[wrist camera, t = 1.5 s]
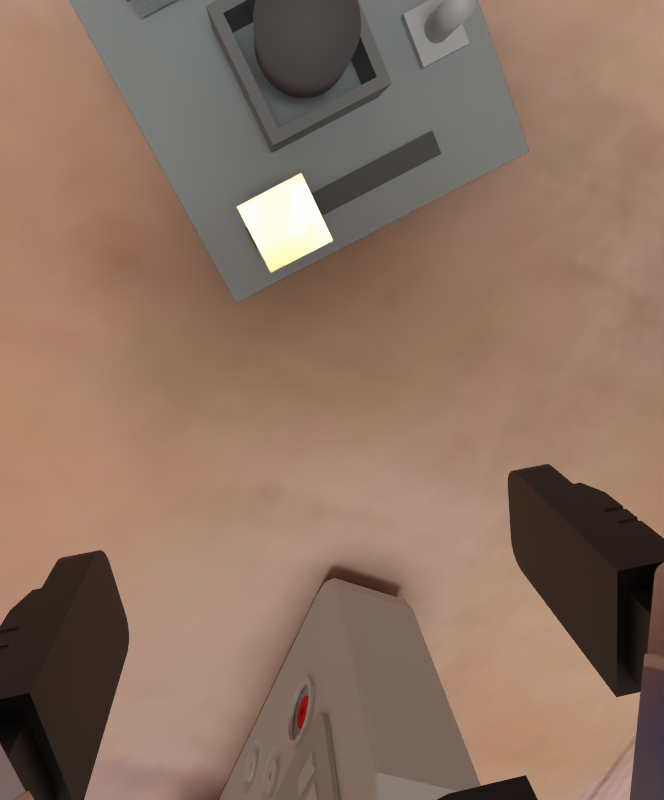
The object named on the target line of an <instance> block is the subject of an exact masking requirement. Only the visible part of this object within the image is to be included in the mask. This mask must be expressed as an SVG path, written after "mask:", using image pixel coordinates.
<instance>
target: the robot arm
mask: <svg viewBox="0 0 664 800" xmlns="http://www.w3.org/2000/svg"><path fill="white" fill-rule="evenodd" d="M508 495H509V512H510V529H511V542H512V548H513V552H514V555H515V558H516V561H517V563H518V565H519V567H520V569H521V571H522V572H523V573H524V575H525V576H526V577H527V579H528V580H529V581H530V583H531V584H532V585H533V587H534V588H535V589H536V591H537V592H538V593H539V595H540V596H541V597H542V599H543V600H544V601H545V603H546V604H547V605H548V607H549V608H550V609H551V611H552V612H553V613H554V615H555V616H556V617H557V619H558V620H559V621H560V623H561V624H562V625H563V627H564V628H565V629H566V631H567V632H568V633H569V635H570V636H571V637H572V639H573V640H574V641H575V643H576V644H577V645H578V647H579V648H580V649H581V651H582V652H583V653H584V655H585V656H586V657H587V659H588V660H589V661H590V663H591V664H592V665H593V667H594V668H595V669H596V671H597V672H598V673H599V674H600V676H601V677H602V678H603V680H604V681H605V682H606V684H607V685H608V686H609V688H610V689H611V690H612V692H613V693H614V694H615V696H616V697H619V696H624V695H628V694H632V693H637V692H641V693H640V703H639V713H638V723H637V733H636V743H635V753H634V763H633V773H632V783H631V793H630V800H664V538H662V537H661V536H660V535H659V534H657V533H656V532H655V531H653V530H652V529H651V528H650V527H648V526H647V525H646V524H645V523H643V522H642V521H638V520H637V517H636V516H634V515H633V514H632V513H631V512H629V511H628V510H627V509H623V506H622V505H621V504H619V503H618V502H617V501H615V500H614V499H613V498H612V497H610V496H609V495H608V494H607V493H605V492H603V491H600V490H598V489H595V488H593V487H590V486H588V485H585V484H582V483H576V484H572V483H571V482H570V481H569V480H568V479H566V478H565V477H564V476H563V475H562V474H560V473H559V472H558V471H557V470H556V469H554V468H553V467H552V466H551V465H549V464H545V465H540V466H535V467H530V468H524V469H519V470H514V471H511V472H510V473H509V476H508ZM128 644H129V630H128V623H127V618H126V614H125V611H124V608H123V605H122V602H121V598H120V595H119V592H118V589H117V586H116V582H115V579H114V576H113V573H112V570H111V566H110V563H109V560H108V558H107V556H106V554H105V553H104V552H103V551H101V550H99V551H94V552H89V553H83V554H78V555H73V556H68V557H63V558H60V559H59V560H58V561H57V562H56V564H55V566H54V568H53V569H52V571H51V573H50V574H49V576H48V578H47V580H46V581H45V583H44V585H43V587H42V588H41V589H36V590H32V591H31V592H30V593H29V594H28V595H27V596H26V597H25V598H23V599H22V600H21V601H20V602H19V603H18V604H17V605H16V606H14V607H13V608H12V609H11V610H10V611H9V613H8V615H7V616H6V618H5V619H4V621H3V623H2V624H1V626H0V800H84V798H85V794H86V791H87V788H88V784H89V781H90V777H91V774H92V771H93V767H94V764H95V760H96V757H97V754H98V750H99V747H100V743H101V740H102V737H103V733H104V730H105V726H106V723H107V720H108V716H109V713H110V709H111V706H112V703H113V699H114V696H115V692H116V689H117V686H118V682H119V679H120V675H121V672H122V669H123V665H124V662H125V658H126V655H127V651H128ZM437 800H537V798H536V795H535V793H534V791H533V789H532V787H531V785H530V783H529V781H528V779H527V777H526V775H525V776H521V777H517V778H513V779H508V780H504V781H500V782H496V783H491V784H487V785H483V786H478V787H474V788H470V789H466V790H461V791H457V792H453V793H449V794H446V795H445V796H443V797H441V798H439V799H437Z"/></svg>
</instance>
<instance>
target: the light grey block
mask: <svg viewBox="0 0 664 800" xmlns="http://www.w3.org/2000/svg"><path fill="white" fill-rule="evenodd" d="M173 1H175V0H132V2H133V3H134V5H135V7H136V9H137V10H138V12H139V14H140V15H141V17H142V18H143V17H145V16H147V15H149V14H150V13H152V12H154V11H156V10H158V9H160V8H162V7H164V6H165V5H167V4H169V3H171V2H173Z"/></svg>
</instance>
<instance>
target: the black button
mask: <svg viewBox="0 0 664 800" xmlns="http://www.w3.org/2000/svg"><path fill="white" fill-rule="evenodd" d="M253 25H254V48H255V55H256V58H257V62H258V64H259V67H260V69H261V71H262V72H263V74H264V76H265V77H266V78H267V80H268V81H269V82H270V83H271V84H272V85H273V86H274V87H275V88H277V89H278V90H280V91H281V92H283V93H285V94H287V95H290V96H293V97H298V98H310V97H315V96H318V95H320V94H323V93H325V92H326V91H328V90H329V89H330V88H332V87H333V86H334V85H335V84H336V83H337V82H338V80H339V79H340V77H341V76H342V74H343V72H344V71H345V69H346V67H347V65H348V64H349V62H350V60H351V58H352V56H353V55H354V53H355V51H356V48H357V45H358V42H359V38H360V32H361V15H360V9H359V4H358V1H357V0H255V5H254V12H253Z"/></svg>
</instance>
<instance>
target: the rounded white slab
mask: <svg viewBox="0 0 664 800" xmlns="http://www.w3.org/2000/svg"><path fill="white" fill-rule="evenodd" d="M478 786H481V785H480V782H479V780H478V777H477V774H476V772H475V769H474V767H473V764H472V762H471V759H470V756H469V754H468V751H467V749H466V746H465V744H464V741H463V738H462V736H461V733H460V731H459V728H458V726H457V723H456V720H455V718H454V715H453V713H452V710H451V707H450V705H449V702H448V700H447V697H446V695H445V692H444V689H443V687H442V684H441V682H440V679H439V677H438V674H437V671H436V669H435V666H434V664H433V661H432V658H431V656H430V653H429V651H428V648H427V646H426V643H425V640H424V638H423V635H422V633H421V630H420V628H419V625H418V622H417V620H416V617H415V615H414V612H413V610H412V608H411V607H410V606H409V604H408V603H407V602H406V601H405V600H404V599H401V598H398V597H395V596H391V595H388V594H385V593H382V592H378V591H375V590H372V589H369V588H365V587H362V586H359V585H356V584H352V583H349V582H346V581H343V580H340V579H336V578H333V579H331V580H328V581H326V582H325V583H324V584H323V586H322V587H321V589H320V590H319V592H318V594H317V595H316V597H315V599H314V601H313V604H312V606H311V608H310V610H309V612H308V614H307V616H306V618H305V620H304V622H303V624H302V627H301V629H300V631H299V633H298V635H297V637H296V639H295V641H294V643H293V645H292V647H291V650H290V652H289V654H288V656H287V658H286V660H285V662H284V664H283V666H282V668H281V670H280V673H279V675H278V677H277V679H276V681H275V683H274V685H273V687H272V689H271V691H270V693H269V696H268V698H267V700H266V702H265V704H264V706H263V708H262V710H261V712H260V714H259V716H258V719H257V721H256V723H255V725H254V727H253V729H252V731H251V733H250V735H249V737H248V740H247V742H246V744H245V746H244V748H243V750H242V752H241V754H240V756H239V758H238V760H237V763H236V765H235V767H234V769H233V771H232V773H231V775H230V777H229V779H228V781H227V783H226V786H225V788H224V790H223V792H222V794H221V796H220V798H219V800H437V799H439V798H441V797H443V796H445V795H446V794H449V793H453V792H457V791H461V790H466V789H470V788H474V787H478Z"/></svg>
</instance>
